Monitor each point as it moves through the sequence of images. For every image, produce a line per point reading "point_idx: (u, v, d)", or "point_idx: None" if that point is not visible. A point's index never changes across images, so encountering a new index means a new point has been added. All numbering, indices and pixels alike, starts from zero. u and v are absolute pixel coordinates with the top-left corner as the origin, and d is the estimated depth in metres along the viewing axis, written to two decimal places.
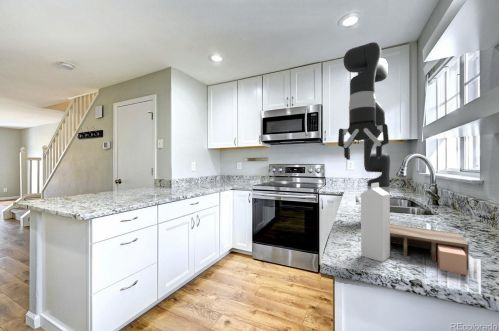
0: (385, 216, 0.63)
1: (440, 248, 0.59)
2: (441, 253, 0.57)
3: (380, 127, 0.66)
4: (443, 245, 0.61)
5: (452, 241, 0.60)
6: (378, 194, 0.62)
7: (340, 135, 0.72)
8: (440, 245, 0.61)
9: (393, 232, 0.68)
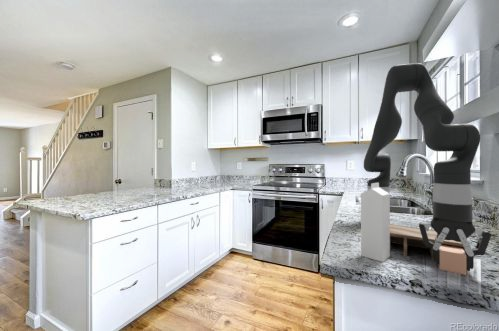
0: (385, 216, 0.63)
1: (440, 247, 0.59)
2: (441, 252, 0.57)
3: (479, 232, 0.53)
4: (444, 244, 0.61)
5: (452, 241, 0.60)
6: (378, 194, 0.62)
7: (423, 232, 0.59)
8: None
9: (393, 232, 0.68)
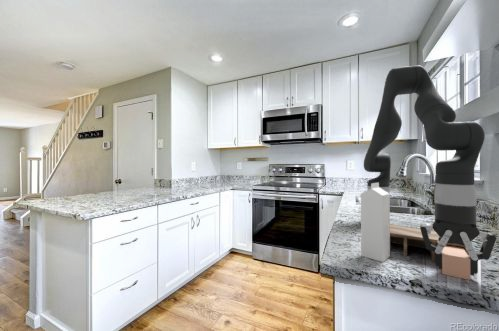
0: (385, 216, 0.63)
1: (442, 251, 0.56)
2: (443, 256, 0.54)
3: (484, 235, 0.51)
4: (445, 247, 0.59)
5: None
6: (378, 194, 0.62)
7: (425, 235, 0.56)
8: None
9: (393, 232, 0.68)
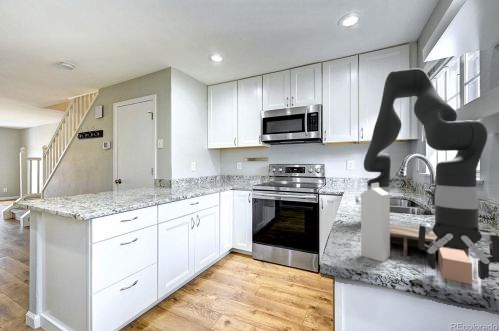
0: (385, 216, 0.63)
1: (443, 255, 0.54)
2: (444, 260, 0.52)
3: (487, 237, 0.48)
4: (446, 251, 0.57)
5: None
6: (378, 194, 0.62)
7: (422, 235, 0.55)
8: (443, 251, 0.57)
9: (393, 232, 0.68)
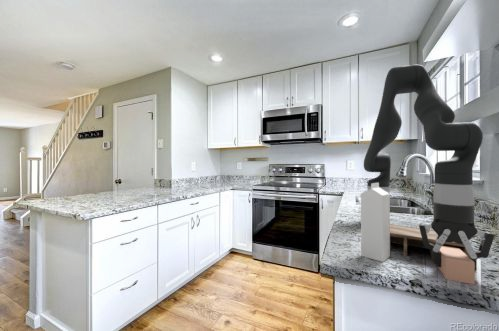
0: (385, 216, 0.63)
1: (444, 254, 0.54)
2: (447, 260, 0.52)
3: (482, 234, 0.52)
4: (445, 250, 0.57)
5: None
6: (378, 194, 0.62)
7: (423, 234, 0.57)
8: (442, 251, 0.56)
9: (393, 232, 0.68)
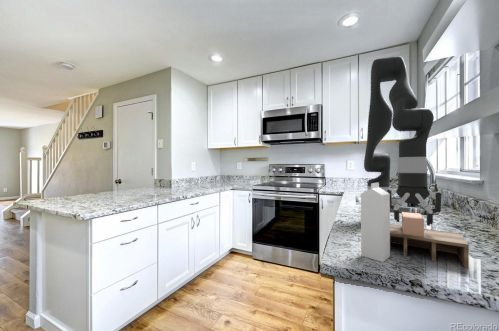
0: (385, 216, 0.63)
1: (404, 216, 0.68)
2: (404, 219, 0.66)
3: (433, 194, 0.66)
4: (407, 214, 0.71)
5: (452, 241, 0.60)
6: (378, 194, 0.62)
7: None
8: (404, 214, 0.71)
9: (393, 232, 0.68)
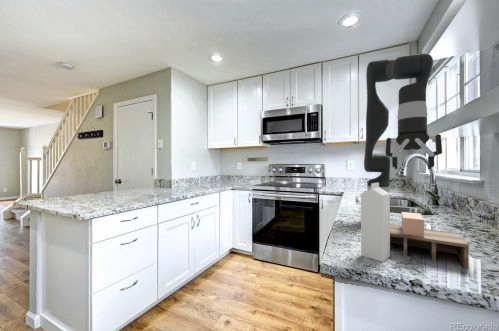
0: (385, 216, 0.63)
1: (404, 216, 0.68)
2: (404, 219, 0.66)
3: (433, 137, 0.66)
4: (407, 214, 0.71)
5: (452, 241, 0.60)
6: (378, 194, 0.62)
7: (388, 144, 0.72)
8: (404, 214, 0.71)
9: (393, 232, 0.68)
